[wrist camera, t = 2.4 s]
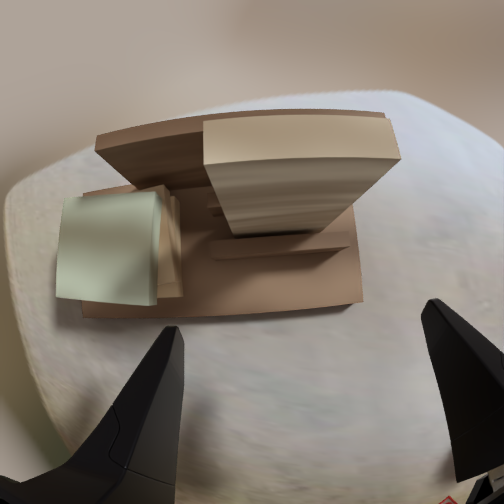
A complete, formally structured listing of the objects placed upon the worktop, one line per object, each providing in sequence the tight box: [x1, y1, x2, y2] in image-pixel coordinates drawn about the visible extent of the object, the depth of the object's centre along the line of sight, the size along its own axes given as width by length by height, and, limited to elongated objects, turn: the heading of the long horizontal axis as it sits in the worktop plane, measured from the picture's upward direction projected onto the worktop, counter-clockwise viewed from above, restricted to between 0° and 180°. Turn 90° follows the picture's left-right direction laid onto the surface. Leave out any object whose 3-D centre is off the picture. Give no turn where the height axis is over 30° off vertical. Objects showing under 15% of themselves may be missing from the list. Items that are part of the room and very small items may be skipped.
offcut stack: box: [56, 184, 183, 306], centre depth 18 cm, size 8×8×4 cm
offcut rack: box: [82, 109, 386, 318], centre depth 17 cm, size 10×22×10 cm, turn 94°
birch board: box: [203, 115, 401, 239], centre depth 14 cm, size 2×6×13 cm, turn 94°
